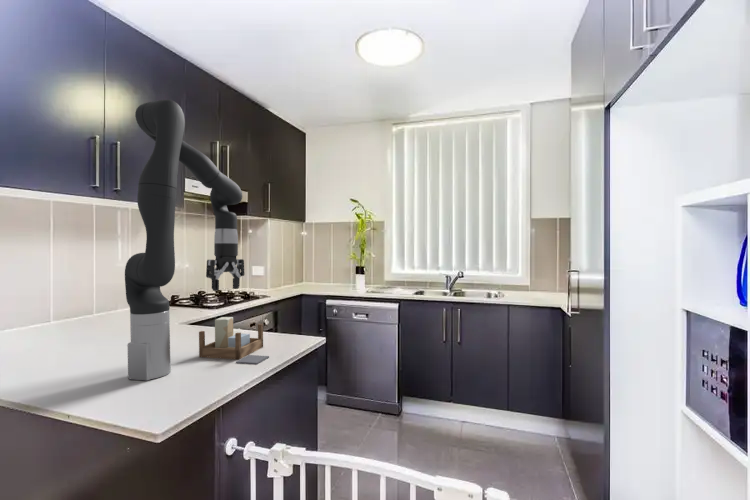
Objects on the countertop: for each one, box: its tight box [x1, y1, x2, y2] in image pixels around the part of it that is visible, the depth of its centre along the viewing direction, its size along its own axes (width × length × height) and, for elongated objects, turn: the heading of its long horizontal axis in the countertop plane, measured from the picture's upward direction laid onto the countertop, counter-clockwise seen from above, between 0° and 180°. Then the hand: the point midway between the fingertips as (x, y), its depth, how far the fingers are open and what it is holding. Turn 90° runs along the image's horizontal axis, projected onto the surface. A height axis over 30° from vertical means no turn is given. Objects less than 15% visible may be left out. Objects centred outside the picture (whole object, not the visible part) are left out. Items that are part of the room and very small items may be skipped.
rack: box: [198, 323, 264, 361], centre depth 124 cm, size 14×14×8 cm
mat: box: [235, 354, 270, 365], centre depth 115 cm, size 7×7×1 cm
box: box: [214, 316, 234, 348], centre depth 125 cm, size 5×4×11 cm
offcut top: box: [228, 332, 251, 347], centre depth 123 cm, size 6×4×3 cm, turn 167°
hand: (226, 289), depth 129 cm, fingers open, 8 cm apart
